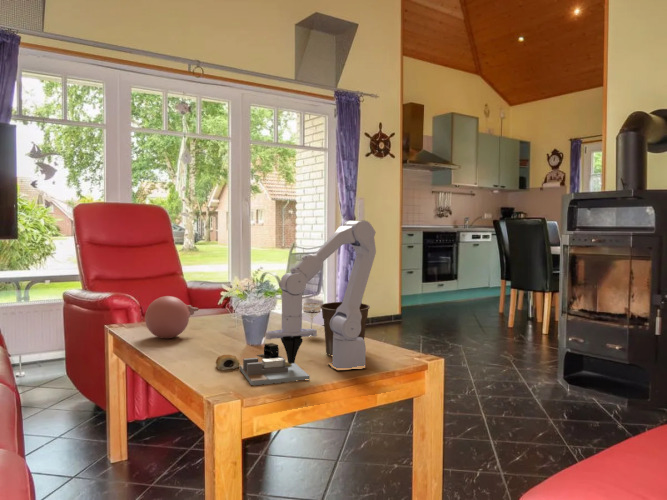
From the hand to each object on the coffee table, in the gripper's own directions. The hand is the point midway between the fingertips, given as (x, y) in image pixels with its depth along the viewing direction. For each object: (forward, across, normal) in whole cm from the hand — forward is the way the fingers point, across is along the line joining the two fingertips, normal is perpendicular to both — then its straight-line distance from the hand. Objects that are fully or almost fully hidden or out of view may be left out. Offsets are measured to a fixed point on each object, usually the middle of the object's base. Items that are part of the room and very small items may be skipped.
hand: (291, 362), depth 150 cm
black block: (+4, -1, +20) cm, 20 cm away
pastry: (+3, -16, +13) cm, 21 cm away
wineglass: (+3, +22, +47) cm, 52 cm away
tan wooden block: (+2, -5, 0) cm, 5 cm away
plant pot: (+3, +23, +16) cm, 28 cm away
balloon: (+3, -28, +58) cm, 65 cm away
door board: (+3, -5, 0) cm, 6 cm away
